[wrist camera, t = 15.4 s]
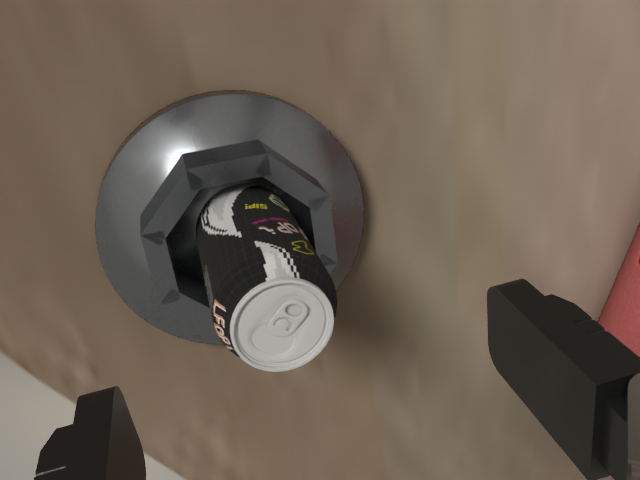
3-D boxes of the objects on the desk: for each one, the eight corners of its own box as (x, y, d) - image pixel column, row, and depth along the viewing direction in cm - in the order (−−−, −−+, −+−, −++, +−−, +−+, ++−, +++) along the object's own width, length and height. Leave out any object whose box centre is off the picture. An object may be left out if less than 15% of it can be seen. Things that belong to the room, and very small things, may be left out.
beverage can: (307, 205, 37) (372, 299, 27) (259, 282, 38) (304, 400, 28) (224, 161, 35) (260, 245, 24) (176, 244, 36) (191, 359, 25)
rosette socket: (343, 68, 36) (368, 80, 32) (366, 300, 43) (389, 334, 39) (61, 117, 33) (50, 137, 29) (135, 358, 40) (134, 400, 36)
